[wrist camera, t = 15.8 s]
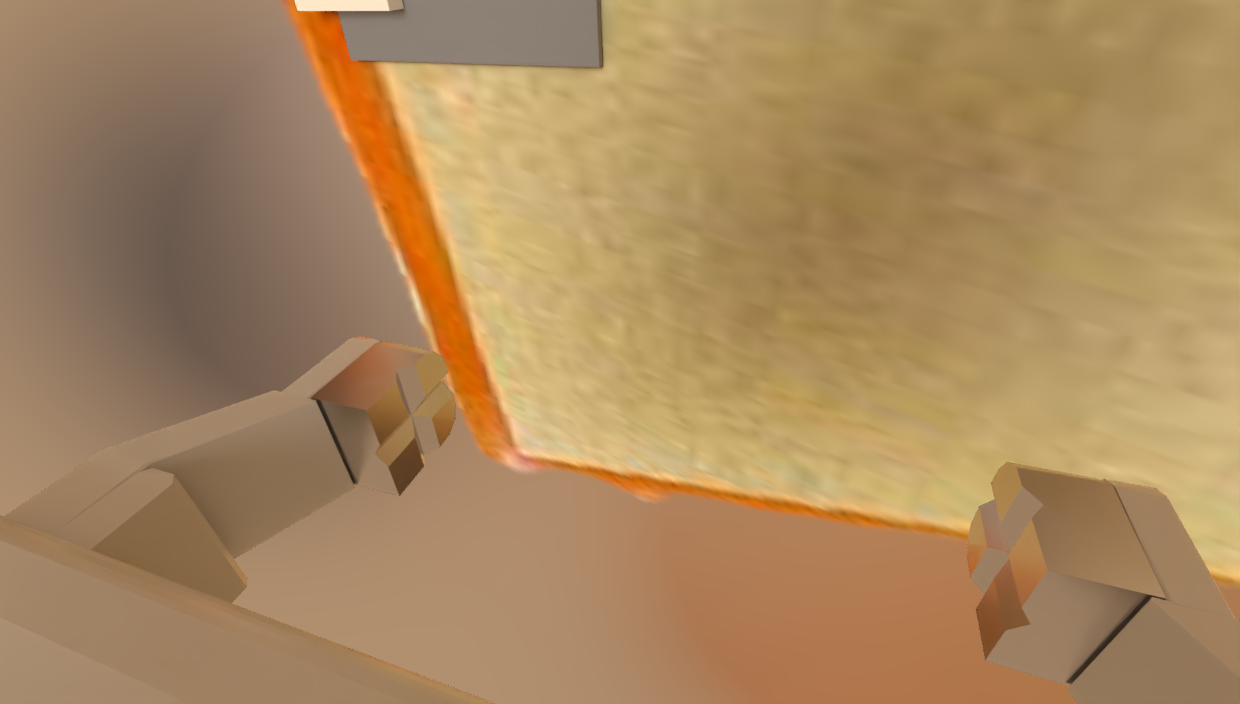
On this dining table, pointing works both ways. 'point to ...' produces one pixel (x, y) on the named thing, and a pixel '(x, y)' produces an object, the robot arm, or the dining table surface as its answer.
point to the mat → (479, 32)
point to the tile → (348, 5)
